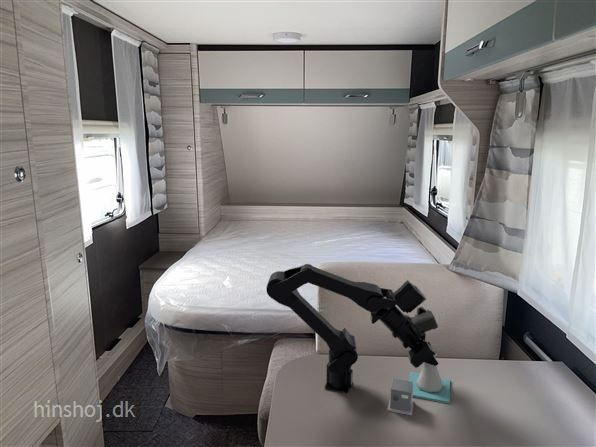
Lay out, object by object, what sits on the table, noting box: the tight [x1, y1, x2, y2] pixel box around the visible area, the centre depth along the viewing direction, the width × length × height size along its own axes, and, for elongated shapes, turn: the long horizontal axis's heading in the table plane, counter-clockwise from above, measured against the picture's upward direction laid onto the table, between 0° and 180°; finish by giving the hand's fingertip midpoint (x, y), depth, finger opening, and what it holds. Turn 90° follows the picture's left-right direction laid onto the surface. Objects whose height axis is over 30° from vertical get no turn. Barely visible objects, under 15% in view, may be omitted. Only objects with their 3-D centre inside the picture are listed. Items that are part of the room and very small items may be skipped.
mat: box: [408, 371, 451, 405], centre depth 122 cm, size 11×11×1 cm
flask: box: [416, 350, 443, 392], centre depth 121 cm, size 7×7×10 cm
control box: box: [387, 377, 414, 416], centre depth 114 cm, size 6×6×6 cm
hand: (435, 361), depth 121 cm, fingers closed on flask, 3 cm apart
